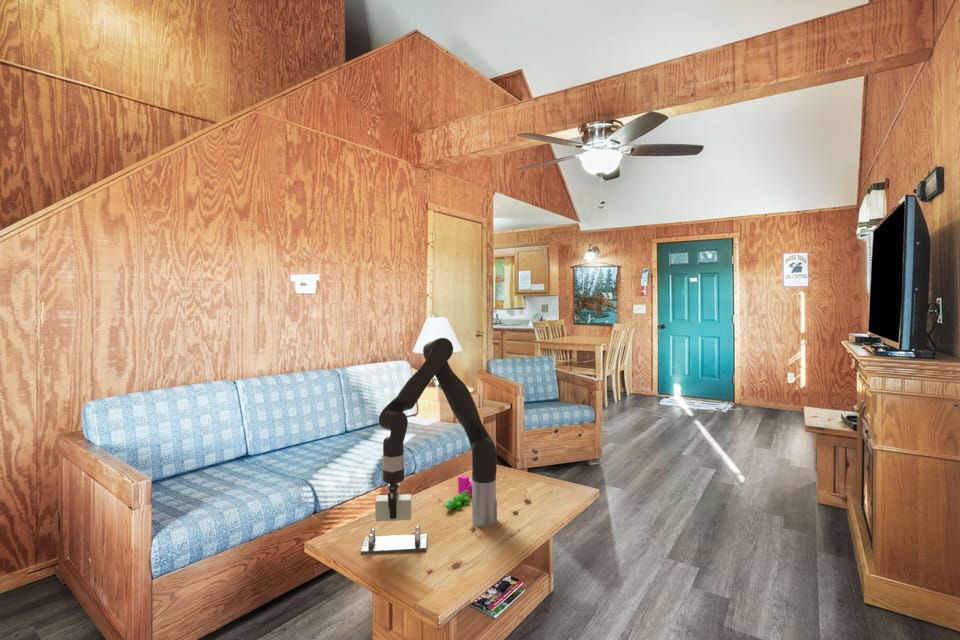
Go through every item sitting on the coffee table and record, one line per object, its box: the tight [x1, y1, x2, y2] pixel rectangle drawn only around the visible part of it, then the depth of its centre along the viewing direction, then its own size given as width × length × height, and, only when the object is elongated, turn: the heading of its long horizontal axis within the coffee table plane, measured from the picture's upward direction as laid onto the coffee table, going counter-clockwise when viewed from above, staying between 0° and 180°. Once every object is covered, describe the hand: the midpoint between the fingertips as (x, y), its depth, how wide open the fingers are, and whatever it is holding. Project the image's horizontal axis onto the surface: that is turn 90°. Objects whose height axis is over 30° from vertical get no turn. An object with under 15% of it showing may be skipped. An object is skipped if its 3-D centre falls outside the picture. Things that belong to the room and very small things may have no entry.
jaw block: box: [374, 493, 412, 522], centre depth 168 cm, size 5×12×7 cm, turn 95°
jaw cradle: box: [360, 525, 428, 555], centre depth 168 cm, size 22×10×5 cm, turn 95°
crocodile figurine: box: [443, 490, 471, 512], centre depth 202 cm, size 7×18×4 cm, turn 151°
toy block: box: [457, 474, 472, 497], centre depth 218 cm, size 15×6×8 cm, turn 140°
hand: (393, 514), depth 168 cm, fingers closed on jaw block, 5 cm apart
